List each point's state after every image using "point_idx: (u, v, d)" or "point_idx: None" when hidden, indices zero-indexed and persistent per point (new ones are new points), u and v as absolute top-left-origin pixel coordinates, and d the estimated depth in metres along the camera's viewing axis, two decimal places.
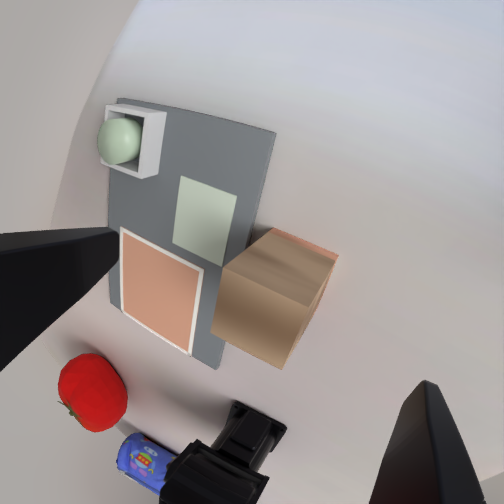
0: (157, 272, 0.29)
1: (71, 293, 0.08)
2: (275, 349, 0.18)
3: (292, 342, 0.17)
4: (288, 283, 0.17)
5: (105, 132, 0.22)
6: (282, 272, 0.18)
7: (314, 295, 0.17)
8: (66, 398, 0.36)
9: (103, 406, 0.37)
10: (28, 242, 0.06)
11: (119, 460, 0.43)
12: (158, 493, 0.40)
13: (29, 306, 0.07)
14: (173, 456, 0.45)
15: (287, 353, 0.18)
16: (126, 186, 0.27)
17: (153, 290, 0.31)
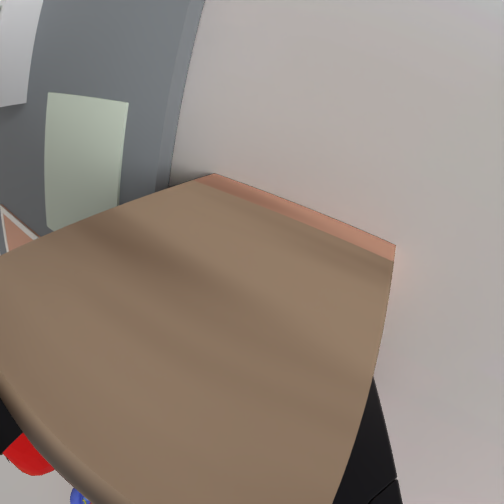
0: None
1: None
2: None
3: None
4: (188, 391, 0.03)
5: None
6: (181, 320, 0.04)
7: (338, 466, 0.02)
8: None
9: (31, 451, 0.22)
10: None
11: None
12: None
13: None
14: None
15: None
16: (0, 136, 0.13)
17: None
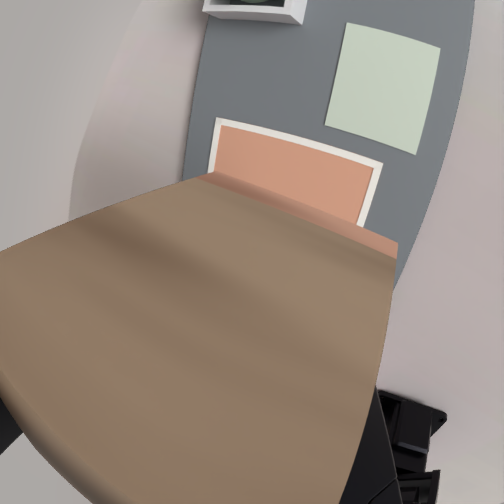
0: (286, 184, 0.18)
1: None
2: None
3: None
4: (192, 388, 0.03)
5: None
6: (184, 317, 0.04)
7: (345, 463, 0.02)
8: None
9: None
10: None
11: None
12: None
13: None
14: None
15: None
16: (237, 51, 0.16)
17: None
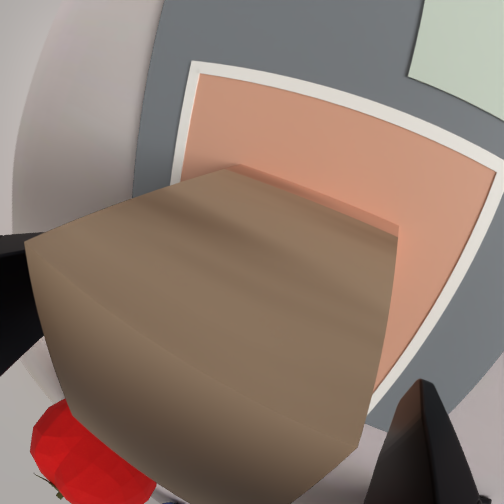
0: (322, 188, 0.09)
1: None
2: None
3: None
4: (259, 311, 0.04)
5: None
6: (243, 267, 0.05)
7: (373, 365, 0.04)
8: (47, 476, 0.16)
9: (117, 494, 0.16)
10: None
11: None
12: None
13: (31, 308, 0.07)
14: None
15: None
16: None
17: None
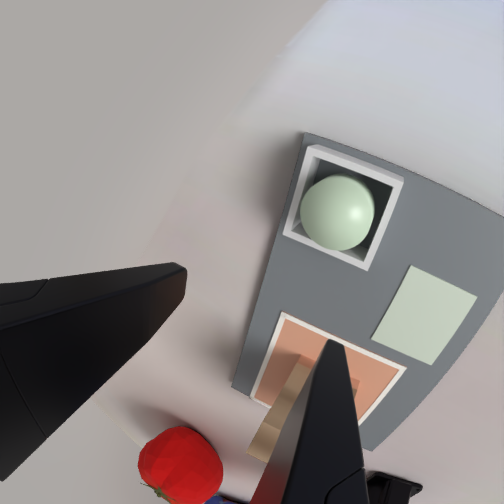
0: None
1: (135, 341, 0.07)
2: None
3: None
4: None
5: (324, 197, 0.15)
6: None
7: None
8: (156, 483, 0.29)
9: (205, 487, 0.30)
10: (88, 291, 0.06)
11: None
12: None
13: (89, 363, 0.06)
14: None
15: None
16: (307, 263, 0.21)
17: None
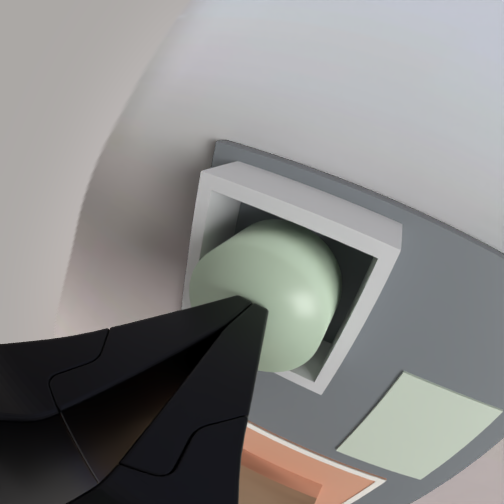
0: (286, 468, 0.15)
1: None
2: None
3: None
4: None
5: (227, 280, 0.08)
6: None
7: None
8: None
9: None
10: (161, 342, 0.05)
11: None
12: None
13: None
14: None
15: None
16: None
17: None
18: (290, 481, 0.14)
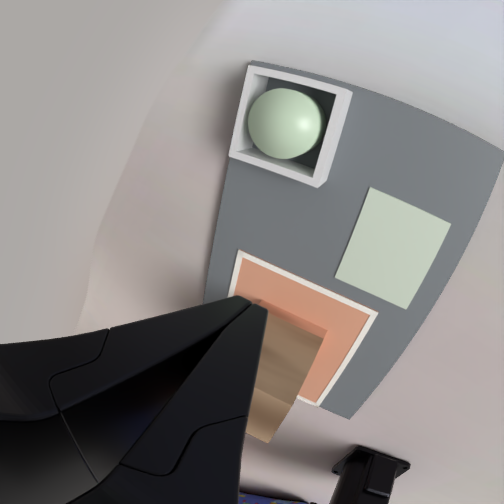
0: (296, 314, 0.22)
1: None
2: (261, 429, 0.17)
3: (277, 427, 0.17)
4: (273, 377, 0.17)
5: (269, 107, 0.15)
6: (269, 363, 0.18)
7: (298, 389, 0.16)
8: None
9: None
10: (161, 342, 0.05)
11: None
12: None
13: None
14: None
15: (272, 433, 0.17)
16: (260, 192, 0.19)
17: None
18: (301, 324, 0.21)
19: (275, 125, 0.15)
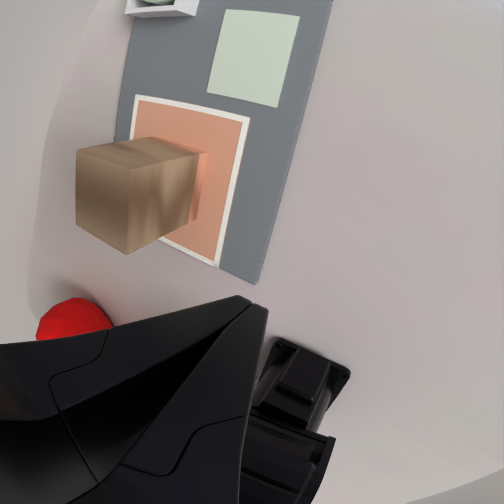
0: (180, 142, 0.21)
1: None
2: (117, 229, 0.17)
3: (126, 216, 0.16)
4: (127, 158, 0.16)
5: None
6: (129, 154, 0.17)
7: (146, 165, 0.16)
8: None
9: None
10: (161, 342, 0.05)
11: None
12: None
13: None
14: None
15: (126, 231, 0.17)
16: (151, 42, 0.19)
17: None
18: (181, 146, 0.21)
19: None
